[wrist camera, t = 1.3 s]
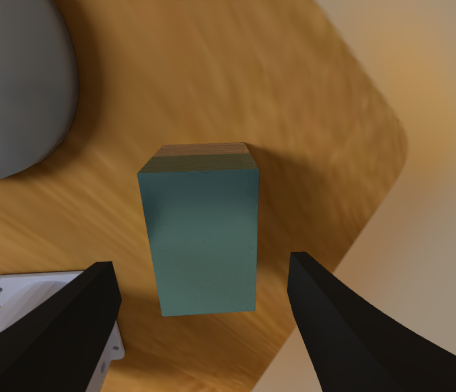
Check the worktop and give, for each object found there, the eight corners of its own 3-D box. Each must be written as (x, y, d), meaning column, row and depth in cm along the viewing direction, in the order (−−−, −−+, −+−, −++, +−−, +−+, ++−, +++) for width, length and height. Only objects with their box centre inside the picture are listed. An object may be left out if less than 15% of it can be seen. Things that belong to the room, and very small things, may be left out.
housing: (243, 248, 19) (255, 310, 13) (176, 251, 19) (162, 316, 13) (243, 142, 16) (259, 168, 10) (163, 144, 15) (137, 173, 10)
